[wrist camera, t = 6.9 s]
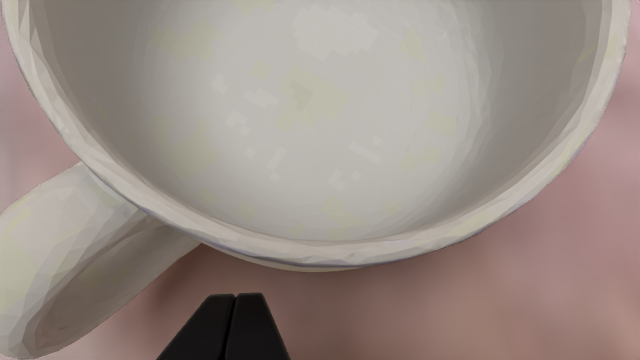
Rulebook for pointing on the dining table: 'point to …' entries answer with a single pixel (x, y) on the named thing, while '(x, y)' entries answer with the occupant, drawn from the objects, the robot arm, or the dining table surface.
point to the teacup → (284, 136)
